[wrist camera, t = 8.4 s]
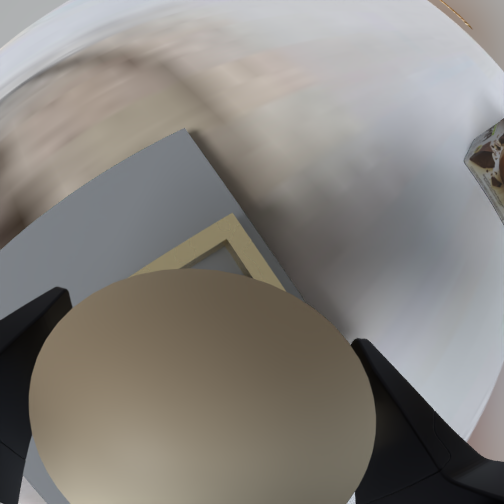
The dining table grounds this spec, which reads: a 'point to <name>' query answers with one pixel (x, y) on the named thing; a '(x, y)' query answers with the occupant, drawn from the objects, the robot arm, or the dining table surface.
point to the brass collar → (209, 242)
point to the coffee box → (489, 164)
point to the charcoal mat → (121, 238)
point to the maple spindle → (200, 396)
